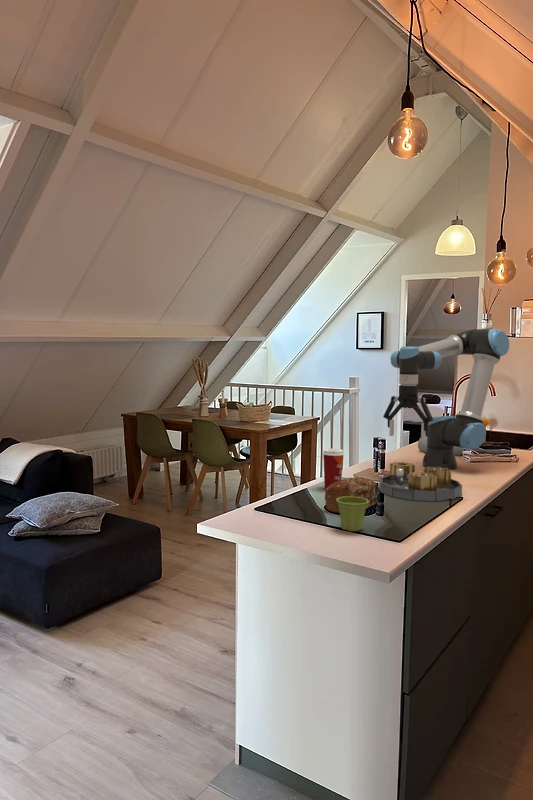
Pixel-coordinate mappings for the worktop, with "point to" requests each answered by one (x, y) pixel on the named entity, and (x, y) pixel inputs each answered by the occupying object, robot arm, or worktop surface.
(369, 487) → the bread
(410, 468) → the planet gear
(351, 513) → the plant pot
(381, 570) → the worktop surface
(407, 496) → the tray
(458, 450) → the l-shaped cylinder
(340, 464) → the coffee cup
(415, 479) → the seated gear
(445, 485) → the seated gear
